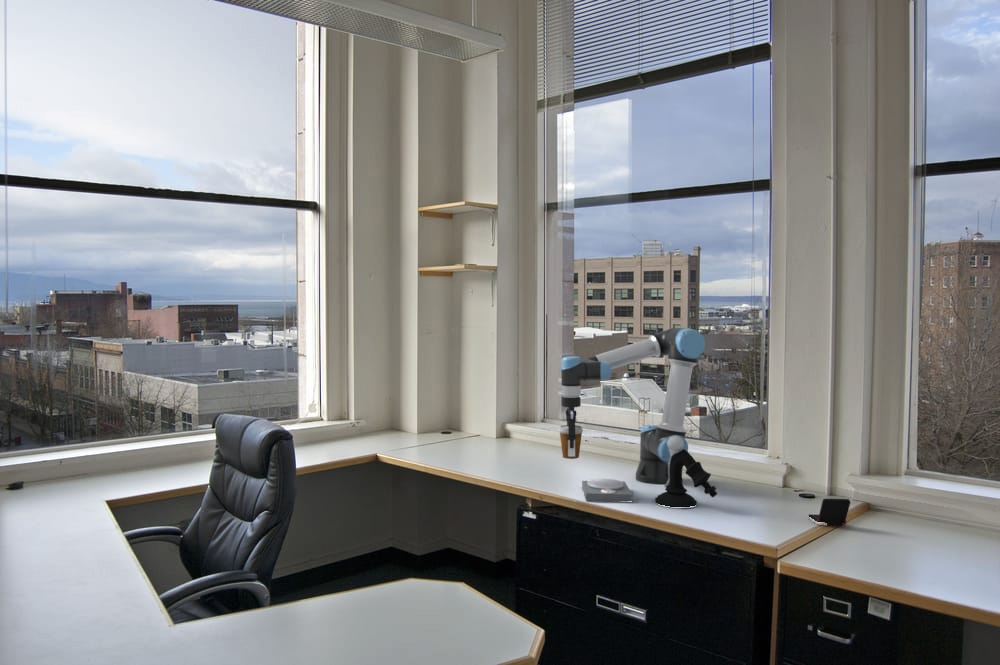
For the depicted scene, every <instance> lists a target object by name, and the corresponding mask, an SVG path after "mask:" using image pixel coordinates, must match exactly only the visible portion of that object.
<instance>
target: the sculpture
mask: <svg viewBox="0 0 1000 665" xmlns="http://www.w3.org/2000/svg"><path fill="white" fill-rule="evenodd" d="M667 446H668V448H669V449H670V450H669V451H670V459H671V460H669V461H670V462H669V467H668V468H669V469H668V470H669V471H668V475H669V476H668V477H669V479H668V480H667V482H666V483H664V485H663V487H664V488H665V489H664V490H665V491H663V492H661V493H660V494H658V495H657V497H655V498H654V503H655V502H656V503H658V504H660V505H665V506H670V507H690V506H695V505H696V504H697V505H698V501H697V500H696V499H695V498H694V496H692V495H691V494H689V493H687V492H688V490H687V489H686V488H685V487H684V484H683V468H684V467H685V469H686V470H685V474H686V476H688V477H689V478H691V480H692V483H693V487H694V488H699V487H703V489H704V490H703V492H704V494H706V495H708V494H709V495H710V497H711V498H712V499H713V498H715V497H716V496H717V495H719V494H718V492H717V487H716V486H715V485H713V486H712V485H711V484H710V483H709V481H708V480H709V479H710V477H711V475H712V473H709V472H707V471H706V470H705V469H704V468H703V466H702V464H701V462H700V461H696V460H695V459H694V457H693V456H692V455H691V454H690V452H689V451H688V452H687V451H686V450H685V449H684V448H683V446H684V442H683V440H682V438H680V437H678V436H672V437H670V438H669V439H668V441H667ZM656 503H655V504H656ZM658 504H657V505H658ZM660 505H659V506H660Z"/></svg>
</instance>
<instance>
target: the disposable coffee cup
mask: <svg viewBox="0 0 1000 665" xmlns="http://www.w3.org/2000/svg"><path fill="white" fill-rule="evenodd" d="M583 431H584V429H583V427H582V426H581V425H576V424H575V437H576V438H575V457H568V440H567V438H568V437H569V436H568V434H569V431H568V426H567V424H564V425H561V426H559V429H558V433H559V436H560V445H561V453H562V458H563V459H568V460H575V459H579V458H580V451H581V450H580V449H581V444H582V443H581V442H582V434H583Z"/></svg>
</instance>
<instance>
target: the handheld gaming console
mask: <svg viewBox="0 0 1000 665" xmlns="http://www.w3.org/2000/svg"><path fill="white" fill-rule="evenodd" d="M820 505H821V507H820V509H819V510H820V511H819V514H814V513H813V514H809V513H808V515H807V516H809V517H811V518H812V519H814V520H815V521H817V522H825V523H827V526H826V527H846V524H847V517H848V516H847V515H848V513H849V509H850V506H851V500H850V499H849V498H823V499H822V502H821V504H820Z"/></svg>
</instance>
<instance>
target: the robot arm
mask: <svg viewBox="0 0 1000 665" xmlns="http://www.w3.org/2000/svg"><path fill="white" fill-rule="evenodd" d="M705 348H706V341H705V338H704V337H703V335H702V334H701V333H700V332H699V331H698V330H696V329H693V328H689V327H671V328H668V329H666V330H663V331H660V332H656V333H654V334H651V335H649V337H648V338H647V339H643V340H640V341H637V342H634V343H631V344H627V345H624V346H622V347H618V348H614V349H612V350H608V351H605V352H601V353H599V354H595V355H593V356H589V357H586V358H585V357H582V358H581V357H580V356H564V357H562V359H561V365H560V366H561V368H560V373H561V387H560V388H559V390H560V391H561V396H562V397H561V398H560V399H561V400H560V402H561V403H560V404H561V406H562V407H563V408H566V410H565V415H566V417H565V418H566V425H567V426H568V431H569V434H568V436H569V437H568V438H567V440H568V457H575V438H576V437H575V425H576V423H577V419H576V418H577V410H575V408H579V407H581V406H582V404H581V402H582V400H581V395H582V385H581V384H582V381H583V382H584V381H585V382H586V381H590V382H591V381H592V382H593V381H601V382H603V381H608V380H610V378H611V376H612V370H613V369H617V368H620V367H624V366H627V365H629V364H633V363H636V362H639V361H642V360H645V359H649V358H652V357H655V358H660V357H665V356H668V357H667V358H668V359H667V360H668V362H669V363H670V368H669V374H668V379H667V386H666V393H665V398H664V406H663V411H662V418H661V422H660V423H659V424H650V425H649V424H648V425H642V426H641V428H640V432H639V433H640V440H639V441H640V442H639V443H640V446H639V448H640V450H639V451H640V453H639V457H640V458H639V462H638V466H637V469H636V470H635V480H636V481H638V480H639V481H638V482H642V483H646V482H648V484H666V482H667V480H668V479H669V477H668V476H669V475H668V471H669V470H668V469H669V468H668V467H669V462H670V461H669V460H671V459H670V451H669V450H670V449H669V448H668V446H667V441H668V439H669V438H670V437H672V436H678V437H680V438H682V440H683V442H684V446H683V448H684V449H685V450H686V451H687V452H688V453H689V444H688V443H689V442H687V439H686V434H687V430H686V429H685V427H684V422H685V416H686V409H687V404H688V398H689V391H690V385H691V378H692V374H693V373H692V372H693V368H694V367H695V366H696V365H698V362H699V357H701V356H702V355H703V354H704V351H705Z"/></svg>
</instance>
